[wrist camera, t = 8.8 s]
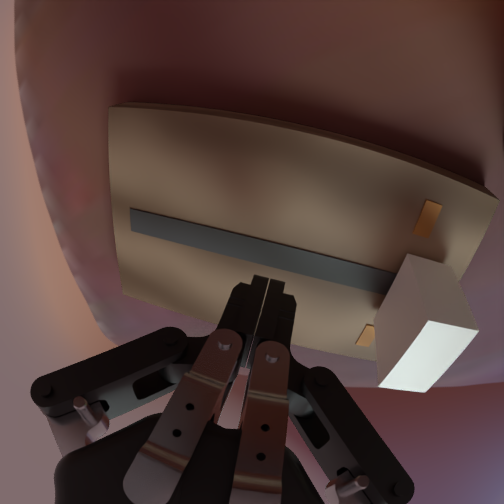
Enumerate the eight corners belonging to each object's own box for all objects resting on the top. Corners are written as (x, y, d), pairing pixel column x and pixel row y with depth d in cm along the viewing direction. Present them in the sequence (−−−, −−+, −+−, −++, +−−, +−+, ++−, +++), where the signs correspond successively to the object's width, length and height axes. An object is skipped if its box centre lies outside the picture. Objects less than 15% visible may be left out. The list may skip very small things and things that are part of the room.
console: (127, 101, 16) (107, 107, 14) (485, 186, 14) (500, 201, 12) (135, 278, 24) (122, 294, 22) (398, 345, 22) (400, 366, 20)
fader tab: (407, 253, 15) (428, 320, 11) (451, 266, 14) (479, 331, 10) (373, 319, 18) (377, 386, 13) (413, 327, 17) (425, 392, 13)
